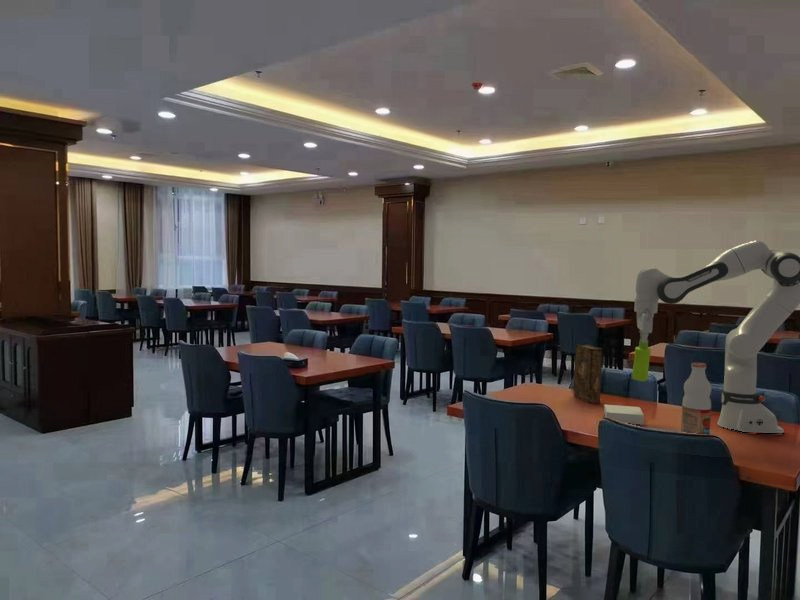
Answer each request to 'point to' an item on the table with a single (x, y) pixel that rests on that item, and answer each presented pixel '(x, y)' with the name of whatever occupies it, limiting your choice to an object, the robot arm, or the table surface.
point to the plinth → (624, 414)
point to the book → (588, 373)
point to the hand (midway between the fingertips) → (643, 341)
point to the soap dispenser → (641, 361)
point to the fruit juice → (696, 402)
